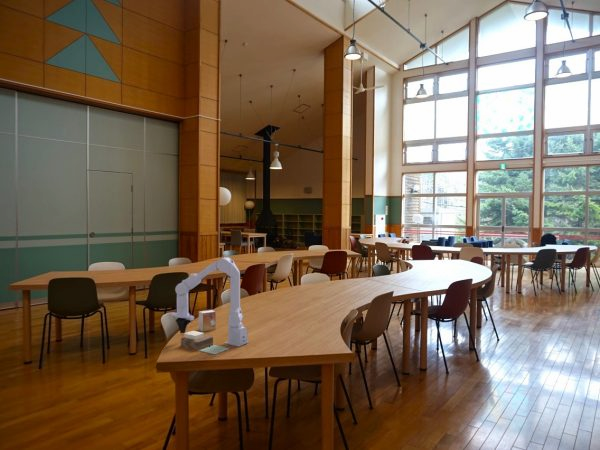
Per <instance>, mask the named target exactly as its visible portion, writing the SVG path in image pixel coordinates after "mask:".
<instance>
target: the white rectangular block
mask: <svg viewBox="0 0 600 450" xmlns="http://www.w3.org/2000/svg"><path fill="white" fill-rule="evenodd" d="M204 335H205V333H204V332H202V331H197V330H191V331H187V332H185V333H183V338H184V337H185V338H189V339H193V340H197V339H200V338H203V337H204Z"/></svg>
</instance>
